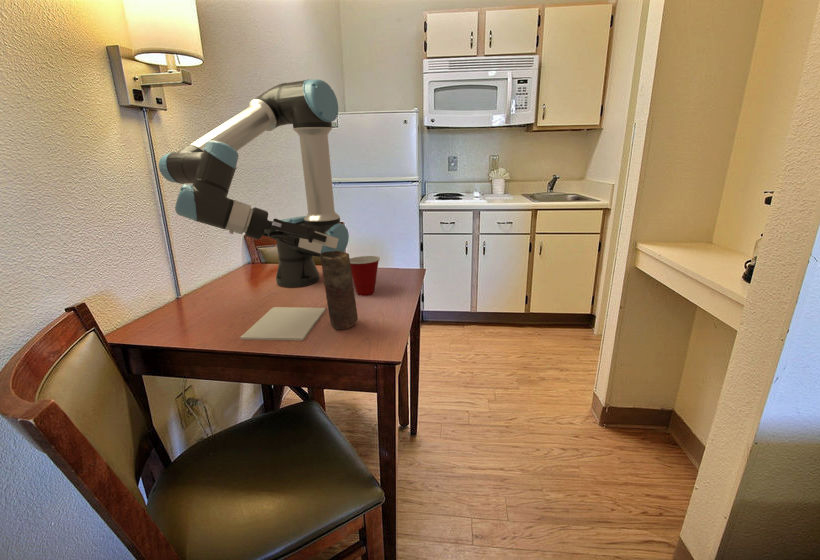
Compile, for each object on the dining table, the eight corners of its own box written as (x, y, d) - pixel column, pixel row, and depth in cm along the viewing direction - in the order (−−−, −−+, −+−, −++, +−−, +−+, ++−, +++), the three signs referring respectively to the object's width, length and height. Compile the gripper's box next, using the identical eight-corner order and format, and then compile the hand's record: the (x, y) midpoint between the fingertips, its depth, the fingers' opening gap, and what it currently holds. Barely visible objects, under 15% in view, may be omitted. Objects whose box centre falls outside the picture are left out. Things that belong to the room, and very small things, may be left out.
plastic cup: (371, 285, 135) (369, 252, 131) (387, 294, 126) (386, 258, 122) (343, 291, 129) (340, 257, 125) (357, 301, 120) (355, 264, 117)
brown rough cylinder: (328, 319, 106) (318, 250, 98) (354, 314, 108) (346, 246, 100) (333, 332, 99) (322, 260, 91) (360, 326, 101) (352, 255, 94)
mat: (273, 309, 115) (273, 307, 115) (325, 309, 114) (325, 307, 114) (240, 339, 96) (240, 337, 96) (303, 340, 95) (302, 338, 95)
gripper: (238, 240, 106) (312, 262, 116) (251, 228, 84) (341, 256, 94) (245, 215, 107) (318, 238, 117) (260, 196, 85) (348, 227, 95)
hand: (328, 246), depth 106 cm, fingers open, 13 cm apart
